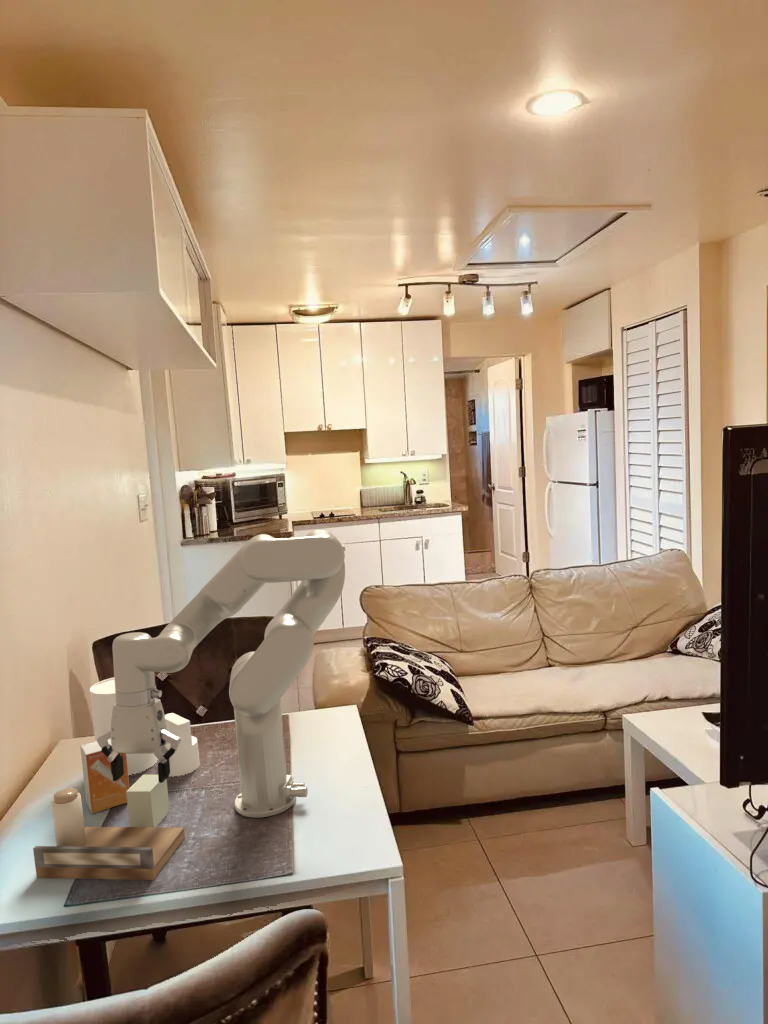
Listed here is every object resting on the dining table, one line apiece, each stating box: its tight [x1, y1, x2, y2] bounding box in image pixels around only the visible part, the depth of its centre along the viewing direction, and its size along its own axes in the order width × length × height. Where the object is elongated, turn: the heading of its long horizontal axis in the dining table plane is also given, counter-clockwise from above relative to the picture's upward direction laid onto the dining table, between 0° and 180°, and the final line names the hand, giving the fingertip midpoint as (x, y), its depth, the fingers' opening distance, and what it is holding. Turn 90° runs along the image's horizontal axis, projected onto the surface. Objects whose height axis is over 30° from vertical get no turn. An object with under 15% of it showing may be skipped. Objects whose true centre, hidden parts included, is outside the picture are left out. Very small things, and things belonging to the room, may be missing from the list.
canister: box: [89, 676, 159, 777], centre depth 165 cm, size 14×14×20 cm
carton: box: [126, 774, 171, 827], centre depth 138 cm, size 5×7×8 cm
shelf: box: [32, 826, 186, 881], centre depth 126 cm, size 22×13×6 cm, turn 82°
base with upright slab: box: [158, 712, 201, 778], centre depth 161 cm, size 9×9×12 cm
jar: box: [50, 787, 86, 847], centre depth 128 cm, size 5×5×10 cm
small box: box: [80, 738, 130, 814], centre depth 147 cm, size 8×6×13 cm
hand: (141, 778), depth 138 cm, fingers open, 9 cm apart
